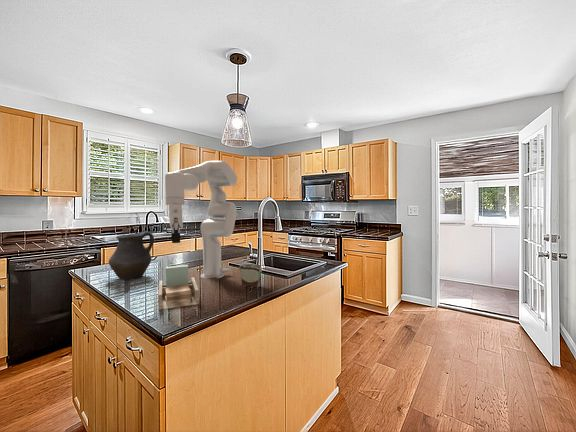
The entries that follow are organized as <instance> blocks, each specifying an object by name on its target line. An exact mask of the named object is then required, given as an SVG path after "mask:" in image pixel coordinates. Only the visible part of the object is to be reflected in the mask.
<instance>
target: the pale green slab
mask: <svg viewBox="0 0 576 432" xmlns="http://www.w3.org/2000/svg"><path fill="white" fill-rule="evenodd" d="M189 282H190V281H189V265H188V264H184V265H183V264H182V265H173V266H165V284H166V287H171V286H180V285H188V284H189Z"/></svg>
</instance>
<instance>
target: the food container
mask: <svg viewBox="0 0 576 432" xmlns="http://www.w3.org/2000/svg"><path fill="white" fill-rule="evenodd" d="M238 267H239V268H238V271H239V275H240V282H241V283H240V284H241V286H242V285H243V286H242V287H246V286H251V287H250V288H253V287H259V288H260V287H261V286H260V284H261V275H262V274H261V273H262V272H263V268H262V265H259V264H255V263H246V264H240V265H239V266H238Z"/></svg>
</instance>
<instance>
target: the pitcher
mask: <svg viewBox="0 0 576 432" xmlns="http://www.w3.org/2000/svg"><path fill="white" fill-rule="evenodd" d="M145 237H149V244H148V246H146V247H145V245H144V241H143V240H144V238H145ZM154 237H155V236H154V235H153V233H151V232H149V231H146V230H145V231H142V232H140V233H130V234H129V233H128V234H119V235H118V234H117V235H116V236H115V238H116V239H117V241H118V243H117V246H116V249H115V250H114V252H113V253H112V255H111V256H110V257H109V259H108V265H109V267H110V268H111V270H112V271H113V273H114V274H115V275H116V276H117V278H118V279H120V280H135V279H139V278H142V277H143V276H144V274H145V273H146V271H147V270H148V268H149V266H150V264H151V263H152V255H151V253H150V252H151V250H152V248H153V246H154V243H155V238H154Z"/></svg>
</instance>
